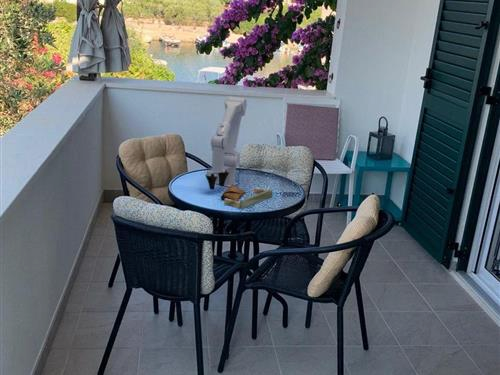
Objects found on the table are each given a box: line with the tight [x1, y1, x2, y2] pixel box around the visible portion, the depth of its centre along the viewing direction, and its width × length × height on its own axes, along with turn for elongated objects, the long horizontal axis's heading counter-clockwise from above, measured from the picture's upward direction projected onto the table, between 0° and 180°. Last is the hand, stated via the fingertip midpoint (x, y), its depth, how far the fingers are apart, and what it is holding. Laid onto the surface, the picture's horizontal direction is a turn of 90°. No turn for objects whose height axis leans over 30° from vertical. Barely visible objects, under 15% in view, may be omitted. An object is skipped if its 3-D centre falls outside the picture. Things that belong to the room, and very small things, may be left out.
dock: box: [223, 187, 274, 210], centre depth 266 cm, size 10×25×4 cm, turn 146°
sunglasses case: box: [220, 184, 247, 202], centre depth 271 cm, size 18×7×7 cm
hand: (216, 187), depth 276 cm, fingers open, 7 cm apart
